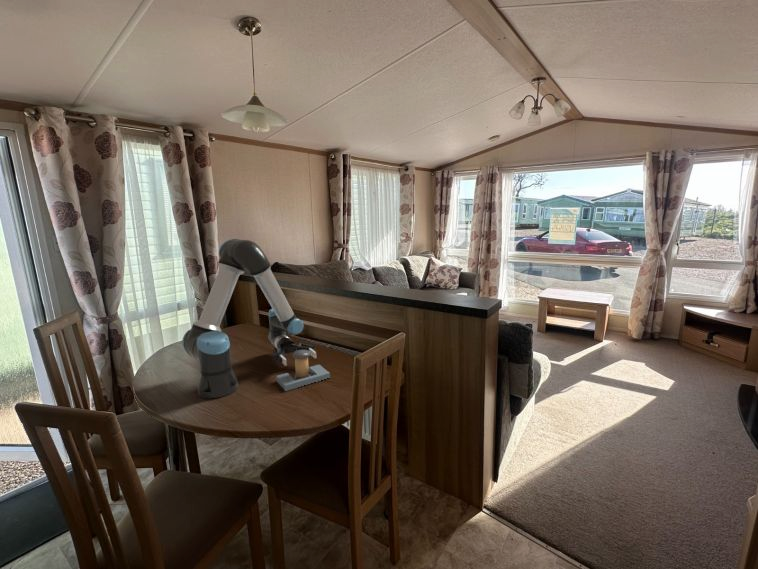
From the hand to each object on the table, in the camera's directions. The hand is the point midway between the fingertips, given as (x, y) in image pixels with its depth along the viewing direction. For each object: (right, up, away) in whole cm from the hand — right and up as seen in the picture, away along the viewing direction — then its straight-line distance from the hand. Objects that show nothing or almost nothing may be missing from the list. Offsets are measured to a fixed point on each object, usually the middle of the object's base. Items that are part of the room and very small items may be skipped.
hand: (301, 358), depth 155 cm
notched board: (+1, -9, -1) cm, 9 cm away
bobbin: (+1, -9, 0) cm, 9 cm away
